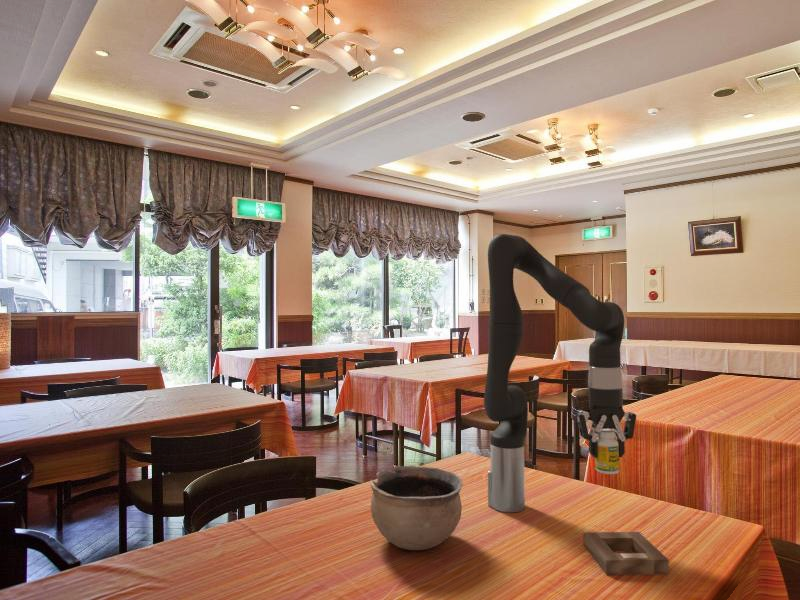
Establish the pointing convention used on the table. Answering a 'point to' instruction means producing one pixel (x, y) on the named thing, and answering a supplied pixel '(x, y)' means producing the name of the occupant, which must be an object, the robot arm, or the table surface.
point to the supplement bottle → (607, 452)
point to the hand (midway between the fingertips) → (606, 456)
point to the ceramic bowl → (416, 505)
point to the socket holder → (635, 563)
